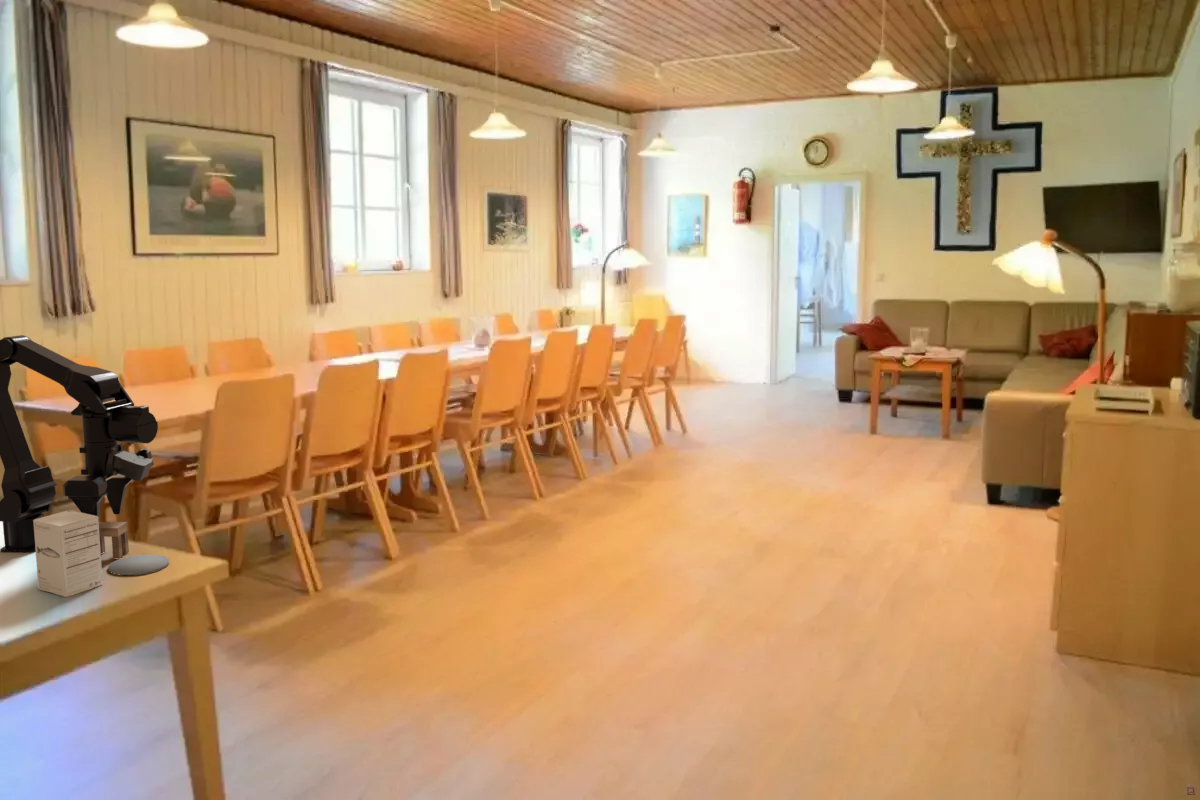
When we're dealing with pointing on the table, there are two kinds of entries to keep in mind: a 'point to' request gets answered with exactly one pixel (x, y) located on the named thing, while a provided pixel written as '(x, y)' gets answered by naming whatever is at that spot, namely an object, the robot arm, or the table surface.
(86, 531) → the supplement box
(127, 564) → the slate mat
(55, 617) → the table surface
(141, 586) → the table surface
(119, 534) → the walnut stool
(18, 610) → the table surface
